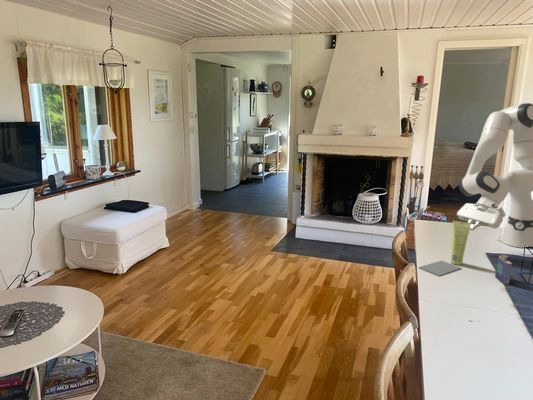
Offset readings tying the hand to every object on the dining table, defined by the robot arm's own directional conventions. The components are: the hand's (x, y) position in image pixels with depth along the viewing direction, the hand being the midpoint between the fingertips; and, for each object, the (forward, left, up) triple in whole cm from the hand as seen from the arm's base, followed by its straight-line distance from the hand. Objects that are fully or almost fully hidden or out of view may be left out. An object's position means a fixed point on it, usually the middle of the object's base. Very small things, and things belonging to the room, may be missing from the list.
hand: (469, 229), depth 188 cm
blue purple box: (+19, +18, -14) cm, 30 cm away
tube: (+12, -1, -14) cm, 18 cm away
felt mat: (+24, -5, -14) cm, 28 cm away
